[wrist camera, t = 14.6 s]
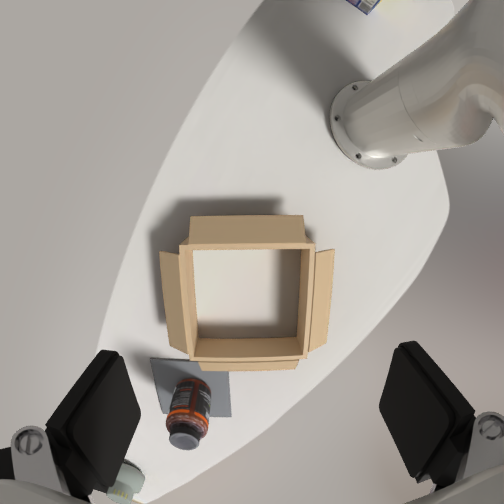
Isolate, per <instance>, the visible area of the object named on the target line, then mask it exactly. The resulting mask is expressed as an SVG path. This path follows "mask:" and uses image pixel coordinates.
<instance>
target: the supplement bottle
mask: <svg viewBox="0 0 504 504" xmlns="http://www.w3.org/2000/svg"><path fill="white" fill-rule="evenodd" d="M211 395H212V394H211V390H210V388H209V386H208V385H207V384H205V383H204V382H202V381H200V380H197V379H192V378H189V379H184V380H181V381H180V382H178V383H177V385H176V387H175V390H174V393H173V397H172V400H171V404H170V408H169V411H168V415H167V419H166V428H167V430H168V431H169V433H170V437H169V441H170V443H171V444H172V445H173V446H175V447H177V448H179V449H182V450H193V449H196V448H197V447H198V445H199V441H200V439H202V438H203V437H205V435H206V434H207V431H208V424H209V415H210V405H211Z"/></svg>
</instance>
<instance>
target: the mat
mask: <svg viewBox="0 0 504 504" xmlns="http://www.w3.org/2000/svg"><path fill="white" fill-rule="evenodd" d="M150 361H151V366H152V371H153V375H154V380H155V384H156V388H157V392H158V396H159V400H160V404H161V408H162V412H163V414H168V411H169V408H170V404H171V400H172V397H173V393H174V390H175V387H176V385H177V383H178V382H180V381H181V380H184V379H189V378H192V379H197V380H200V381H202V382H204V383H205V384H207V385H208V386H209V388H210V390H211V394H212V395H211V405H210V415H209V417H231V403H230V388H229V371H202V370H201V368H200V366H199V363H198V361H190V360H169V359H154V358H151V359H150Z"/></svg>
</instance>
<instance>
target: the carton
mask: <svg viewBox="0 0 504 504" xmlns="http://www.w3.org/2000/svg"><path fill="white" fill-rule="evenodd" d="M244 249H301V263H300V287H299V306H298V322H297V337H281V338H244V339H208V338H199V334H198V323H197V311H196V298H195V284H194V268H193V250H244ZM179 253H180V254H176V253H171V252H166V251H159V257H160V269H161V280H162V290H163V299H164V307H165V315H166V323H167V330H168V337H169V344H170V346H171V347H173V348H176V349H178V350H180V351H182V352H184V353H186V354H189V358H190V361H198V363H199V366H200V368H201V370H202V371H270V370H290V369H295V368H296V366H297V364H298V362H299V359H307V355H308V352H310V351H312V350H314V349H316V348H318V347H320V346H322V345H324V344H325V343H326V341H327V333H328V324H329V315H330V305H331V294H332V282H333V269H334V253H335V249H329V250H324V251H319V252H315V243H314V242H313V241H312V240H310V239H309V238H308V237H307V236H305V228H304V219H303V215H232V216H190V228H189V237H187V238H186V239H185V240H184V241H183V242H182V243H181V244H180V245H179Z"/></svg>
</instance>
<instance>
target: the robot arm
mask: <svg viewBox="0 0 504 504" xmlns="http://www.w3.org/2000/svg"><path fill="white" fill-rule="evenodd" d="M352 88H353V89H354V90H353V89H352ZM334 118H336V119H337V121H336V120H335V119H334ZM493 118H494V119H495V120H496V122H497V124H498V125H499V127H500V129H501V131H502V133H503V135H504V0H469V1H468V2H467V3H466V4H465V5H464V7H463V8H462V9H461V10H460V11H459V12H458V13H457V14H456V15H455V16H454V17H453V18H452V19H451V20H450V22H449V23H448V24H447V25H446V26H445V27H443V28H442V29H441V30H440V31H439V32H438V33H437V34H436V35H434V36H433V37H432V38H430V39H429V40H428V41H426V42H425V43H424V44H423V45H421V46H420V47H418V48H417V49H416V50H414V51H413V52H411V53H410V54H409V55H407V56H406V57H404V58H403V59H402V60H400V61H399V62H397V63H396V64H395V65H393V66H392V67H390V68H389V69H388V70H386V71H385V72H384V73H382V74H381V75H379V76H378V77H377V78H375V79H374V80H373V81H357V82H354V83H351V84H349V85H347V86H346V87H344V88H343V89H342V90H341V91H340V92H339V93H338V94H337V95H336V97H335V98H334V100H333V103H332V105H331V110H330V125H331V130H332V133H333V136H334V139H335V140H336V142H337V144H338V146H339V147H340V149H341V150H342V151H343V152H344V154H345V155H346V156H348V157H349V158H350V159H351V160H352V161H354V162H355V163H357V164H358V165H361V166H363V167H366V168H369V169H374V170H376V169H389V168H391V167H394V166H396V165H398V164H399V163H401V162H402V161H403V160H404V159H405V158H406V156H407V155H408V154H410V153H417V152H425V151H432V150H440V149H448V148H455V147H463V146H467V145H470V144H473V143H475V142H476V141H478V140H479V139H480V138H481V137H483V135H484V134H485V133H486V131H487V130H488V128H489V126H490V124H491V123H492V120H493ZM355 155H357V158H356V156H355ZM392 160H393V162H392ZM379 409H380V412H381V414H382V417H383V419H384V421H385V423H386V425H387V427H388V429H389V431H390V433H391V435H392V437H393V439H394V442H395V444H396V446H397V448H398V450H399V453H400V455H401V457H402V459H403V461H404V463H405V466H406V468H407V470H408V472H409V474H410V476H411V477H413V478H414V477H415V479H416V481H417V483H420V482H423V481H425V480H428V479H432V481H433V485H432V488H431V491H430V493H429V494H428V495H426V496H423V497H421V498H418V499H415V500H413V501H410V502H407V503H404V504H504V416H502V415H500V414H499V413H496V412H484V413H482V414H480V415H479V416H478V417H477V418H476V417H475V416H474V413H475V410H474V409H473V407H472V406H471V405H470V404H469V402H468V401H467V400H466V399H465V398H464V396H463V395H462V394H461V393H460V391H459V390H458V389H457V388H456V387H455V385H454V384H453V383H452V382H451V381H450V379H449V378H448V377H447V376H446V375H445V373H444V372H443V371H442V370H441V369H440V368H439V367H438V365H437V364H436V363H435V362H434V361H433V359H432V358H431V357H430V356H429V355H428V354H427V353H426V352H425V350H424V349H423V348H422V347H421V346H420V345H419V344H418V343H417V342H416V341H409V342H404V343H400V344H399V346H398V348H396V349H395V350H394V353H393V357H392V361H391V365H390V369H389V373H388V376H387V380H386V383H385V386H384V390H383V393H382V396H381V399H380V403H379ZM140 417H141V411H140V407H139V405H138V402H137V399H136V396H135V393H134V390H133V388H132V385H131V381H130V378H129V375H128V372H127V369H126V366H125V362H124V359H123V357H122V356H119V354H118V352H116V351H109V350H101V351H100V352H99V353H98V354H97V355H96V357H95V358H94V359H93V361H92V362H91V363H90V364H89V366H88V367H87V368H86V370H85V371H84V372H83V374H82V375H81V376H80V378H79V379H78V380H77V382H76V383H75V384H74V386H73V387H72V388H71V390H70V391H69V392H68V394H67V395H66V396H65V398H64V399H63V401H62V402H61V403H60V405H59V406H58V407H57V409H56V410H55V412H54V413H53V415H52V416H51V417H50V419H49V420H48V421H47V423H46V424H45V425H46V426H47V428H46V430H45V431H44V430H43V429H41V428H39V427H36V426H26V427H23V428H21V429H19V430H18V431H17V432H16V433H15V434H14V435H13V437H12V440H11V447H8V448H5V449H0V504H95V502H94V500H93V498H92V495H91V493H92V491H93V489H95V490H98V491H101V492H104V493H107V491H108V489H109V487H113V485H114V484H115V481H116V478H117V476H118V473H119V471H120V468H121V465H122V463H123V460H124V458H125V455H126V453H127V450H128V448H129V445H130V443H131V440H132V438H133V435H134V433H135V430H136V428H137V425H138V423H139V420H140Z"/></svg>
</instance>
